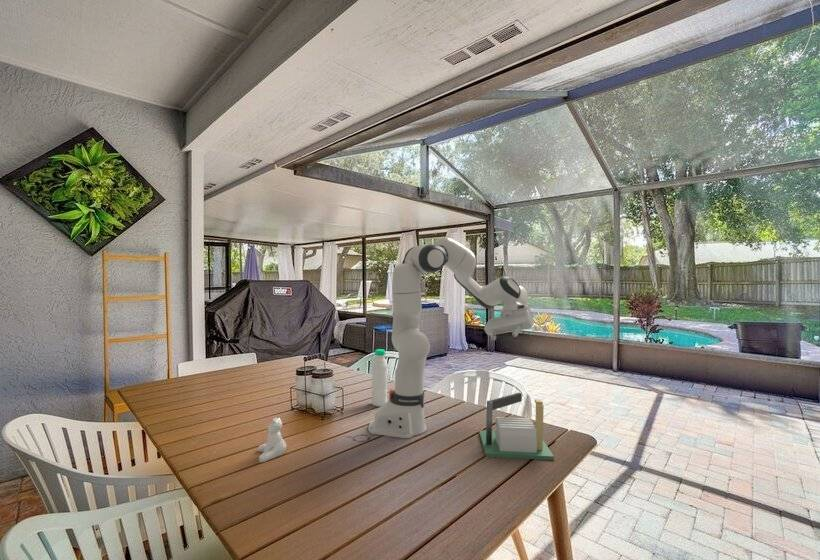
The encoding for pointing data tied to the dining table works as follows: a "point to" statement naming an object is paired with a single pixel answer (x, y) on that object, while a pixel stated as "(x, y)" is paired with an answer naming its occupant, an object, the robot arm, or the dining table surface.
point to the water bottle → (379, 379)
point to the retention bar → (495, 405)
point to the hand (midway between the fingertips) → (503, 337)
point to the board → (504, 454)
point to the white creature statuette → (273, 442)
